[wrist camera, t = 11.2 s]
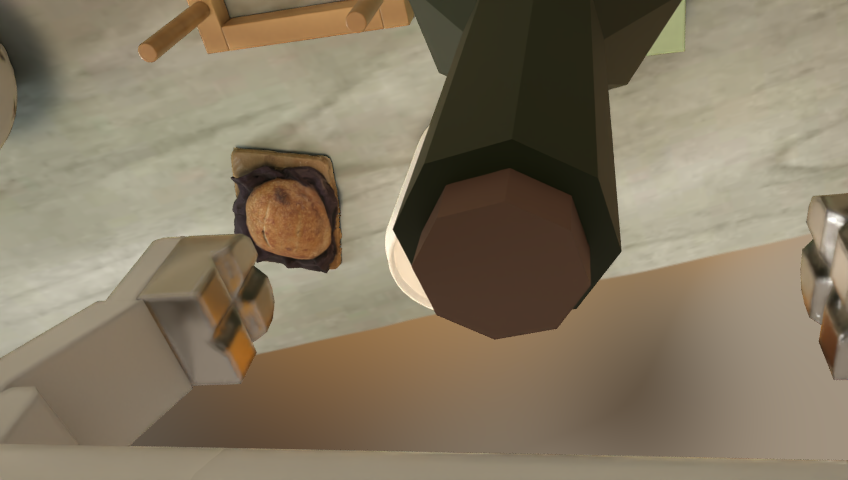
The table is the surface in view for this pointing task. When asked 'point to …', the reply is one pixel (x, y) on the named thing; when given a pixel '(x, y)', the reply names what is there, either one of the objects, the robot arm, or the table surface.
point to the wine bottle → (521, 156)
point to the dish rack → (274, 24)
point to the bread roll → (288, 208)
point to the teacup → (6, 96)
